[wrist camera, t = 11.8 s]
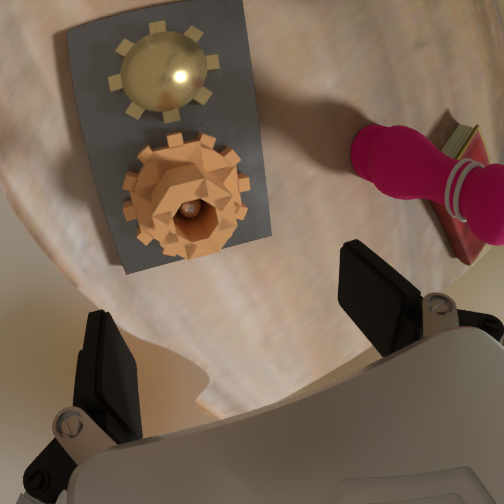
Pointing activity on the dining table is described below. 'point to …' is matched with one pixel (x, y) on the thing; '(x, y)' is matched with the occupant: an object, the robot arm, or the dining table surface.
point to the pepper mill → (432, 177)
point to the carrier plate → (135, 134)
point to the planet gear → (186, 195)
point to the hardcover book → (460, 236)
